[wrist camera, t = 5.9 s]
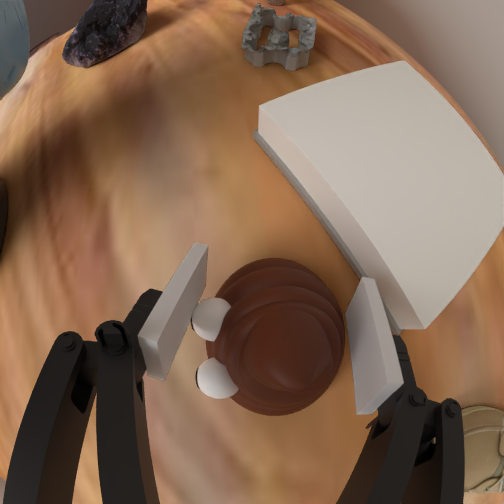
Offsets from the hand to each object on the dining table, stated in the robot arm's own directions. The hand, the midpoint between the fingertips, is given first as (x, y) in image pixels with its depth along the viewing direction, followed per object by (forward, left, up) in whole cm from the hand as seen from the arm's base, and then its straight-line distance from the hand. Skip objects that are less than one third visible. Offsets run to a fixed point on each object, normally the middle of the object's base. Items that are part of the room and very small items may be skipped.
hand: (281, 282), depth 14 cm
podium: (-2, +15, -4) cm, 15 cm away
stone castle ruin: (-21, +16, -4) cm, 27 cm away
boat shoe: (+27, +9, -4) cm, 29 cm away
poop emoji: (+3, -2, -4) cm, 5 cm away
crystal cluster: (-40, 0, -4) cm, 40 cm away
